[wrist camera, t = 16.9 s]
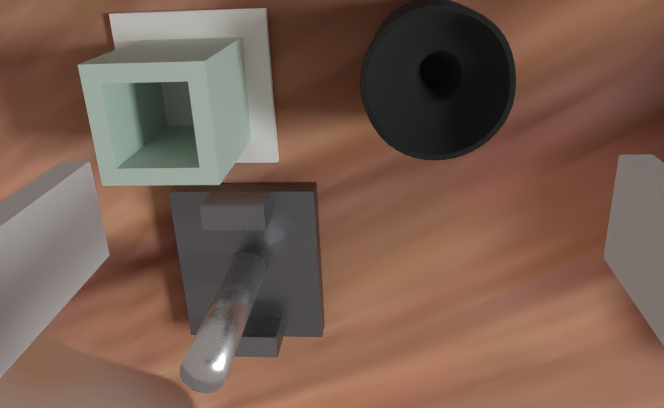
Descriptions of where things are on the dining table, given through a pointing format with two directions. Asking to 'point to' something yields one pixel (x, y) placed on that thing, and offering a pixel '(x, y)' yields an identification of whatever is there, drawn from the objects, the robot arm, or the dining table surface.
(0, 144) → the dining table surface
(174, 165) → the sleeve
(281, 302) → the block with threaded rod
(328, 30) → the dining table surface
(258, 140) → the mat
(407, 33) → the pen holder
